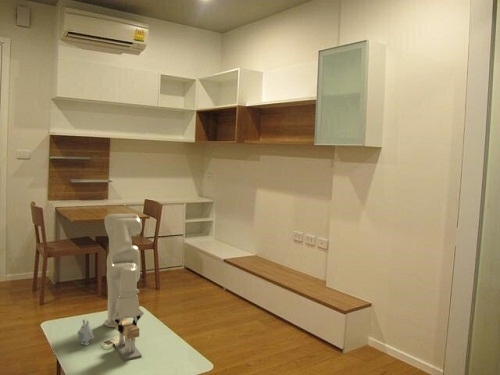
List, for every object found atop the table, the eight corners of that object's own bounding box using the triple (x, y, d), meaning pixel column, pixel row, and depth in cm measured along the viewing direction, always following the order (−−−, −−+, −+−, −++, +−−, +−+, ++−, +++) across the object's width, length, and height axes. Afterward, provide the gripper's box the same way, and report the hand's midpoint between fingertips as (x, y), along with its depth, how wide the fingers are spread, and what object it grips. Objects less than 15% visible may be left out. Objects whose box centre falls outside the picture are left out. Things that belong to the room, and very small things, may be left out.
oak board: (115, 329, 210) (115, 321, 210) (125, 327, 214) (125, 319, 213) (129, 339, 200) (129, 330, 200) (139, 336, 203) (139, 328, 203)
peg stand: (113, 343, 214) (113, 329, 213) (129, 340, 218) (129, 326, 218) (124, 360, 197) (124, 345, 196) (141, 357, 201) (142, 342, 200)
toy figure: (72, 344, 212) (72, 319, 211) (82, 339, 217) (82, 315, 216) (88, 349, 207) (88, 324, 206) (98, 344, 212) (98, 320, 211)
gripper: (143, 289, 213) (142, 325, 214) (107, 293, 204) (106, 331, 206) (148, 293, 207) (147, 330, 208) (111, 298, 198) (110, 337, 199)
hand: (127, 330), depth 207 cm, fingers closed on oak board, 5 cm apart
